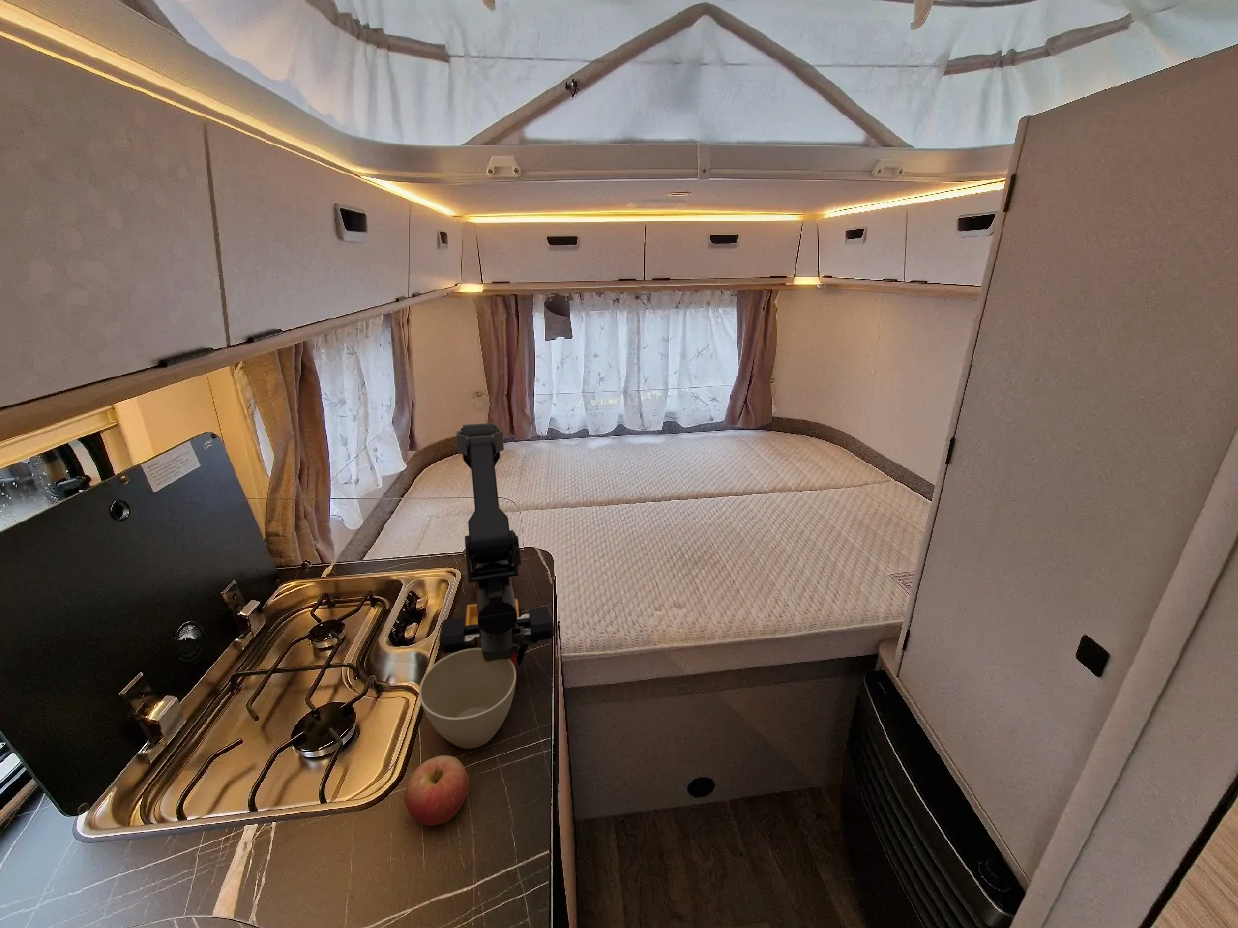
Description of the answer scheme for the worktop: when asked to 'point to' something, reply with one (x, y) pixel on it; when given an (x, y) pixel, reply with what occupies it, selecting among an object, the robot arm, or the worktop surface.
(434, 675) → the flower pot
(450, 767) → the apple
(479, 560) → the robot arm
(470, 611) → the amber tray
